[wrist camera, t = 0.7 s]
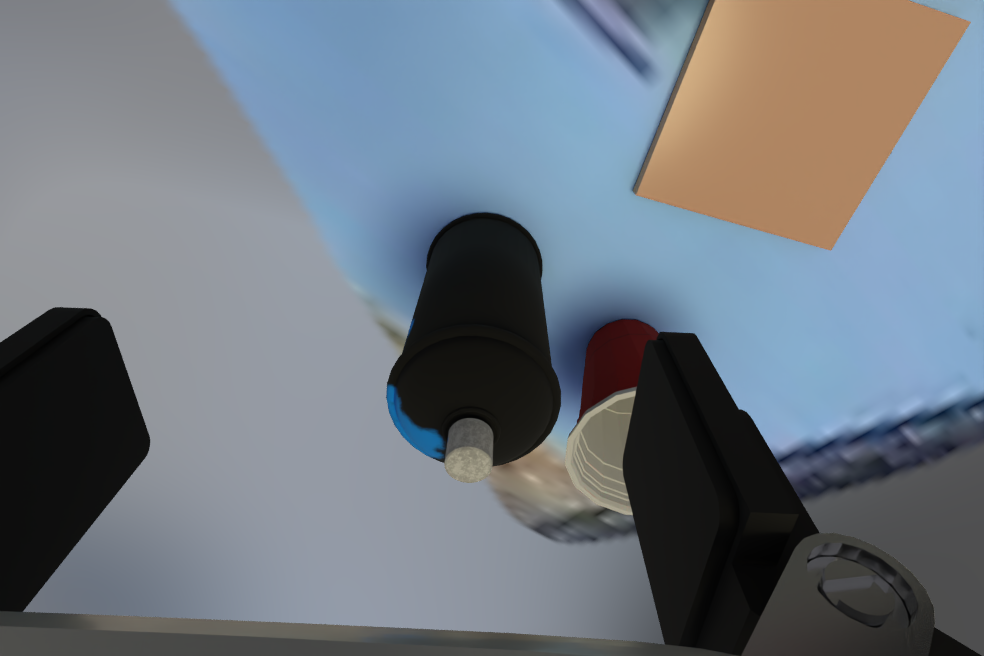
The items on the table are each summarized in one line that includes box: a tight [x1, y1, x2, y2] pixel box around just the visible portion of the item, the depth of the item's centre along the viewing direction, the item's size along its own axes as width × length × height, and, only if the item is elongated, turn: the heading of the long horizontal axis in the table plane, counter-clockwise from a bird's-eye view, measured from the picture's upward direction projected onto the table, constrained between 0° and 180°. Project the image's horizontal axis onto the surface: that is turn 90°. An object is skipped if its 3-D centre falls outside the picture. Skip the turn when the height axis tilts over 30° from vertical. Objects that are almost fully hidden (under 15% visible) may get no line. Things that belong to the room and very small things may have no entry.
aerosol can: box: [386, 213, 561, 483], centre depth 32 cm, size 8×8×20 cm
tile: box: [633, 0, 971, 250], centre depth 34 cm, size 14×14×1 cm
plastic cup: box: [565, 319, 659, 515], centre depth 38 cm, size 11×11×12 cm
